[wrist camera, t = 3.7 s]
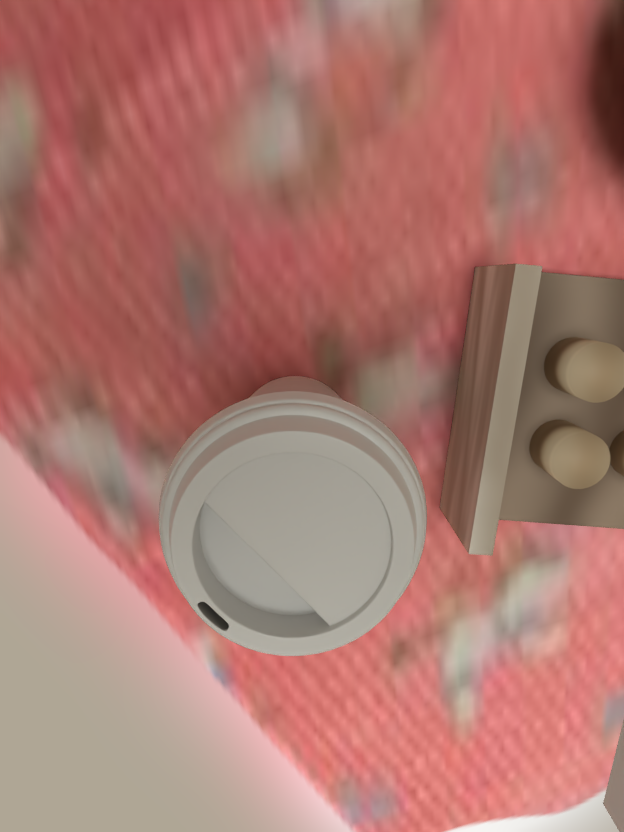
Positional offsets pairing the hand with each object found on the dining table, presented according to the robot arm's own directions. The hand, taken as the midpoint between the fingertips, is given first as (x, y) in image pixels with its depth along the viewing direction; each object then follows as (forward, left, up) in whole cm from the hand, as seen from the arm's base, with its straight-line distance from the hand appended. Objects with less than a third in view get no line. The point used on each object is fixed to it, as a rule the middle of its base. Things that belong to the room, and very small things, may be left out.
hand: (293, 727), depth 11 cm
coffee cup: (0, 0, -23) cm, 23 cm away
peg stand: (+17, +3, -23) cm, 28 cm away
